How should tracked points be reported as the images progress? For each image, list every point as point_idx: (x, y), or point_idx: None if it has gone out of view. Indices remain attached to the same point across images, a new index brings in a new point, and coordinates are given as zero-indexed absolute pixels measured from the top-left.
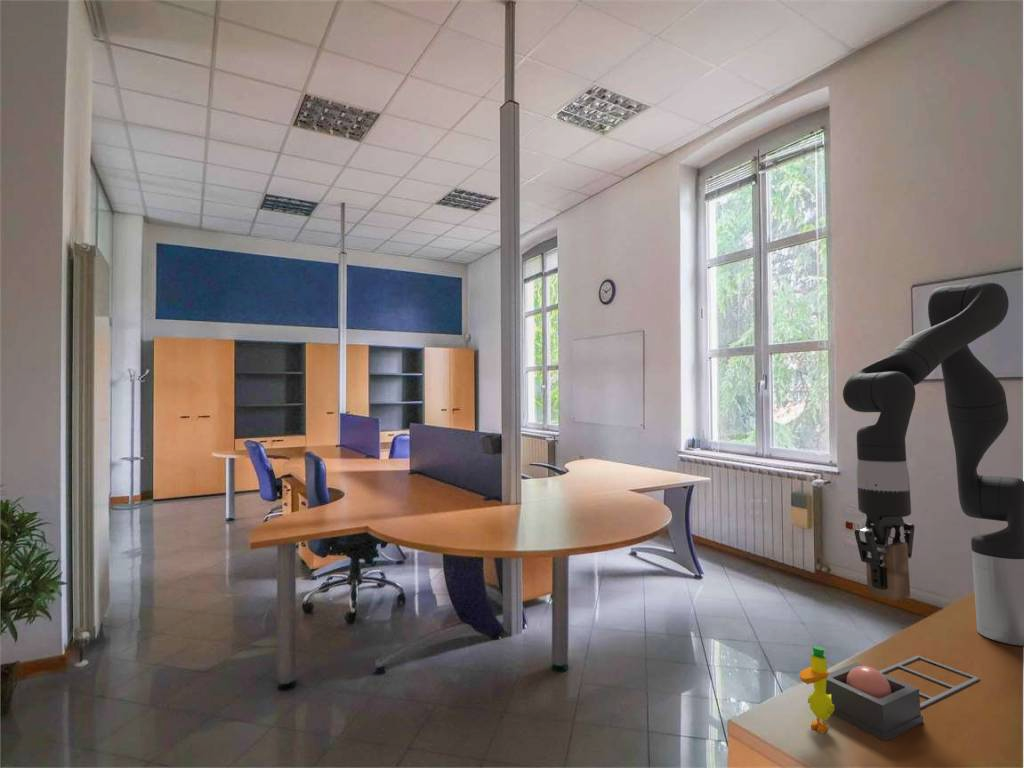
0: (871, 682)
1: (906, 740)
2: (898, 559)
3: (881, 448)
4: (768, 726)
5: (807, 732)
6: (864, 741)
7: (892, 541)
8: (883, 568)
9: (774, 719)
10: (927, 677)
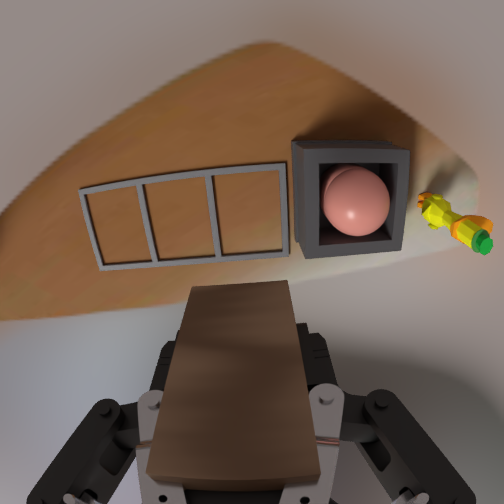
0: (384, 189)
1: (360, 127)
2: (254, 405)
3: None
4: None
5: None
6: None
7: (237, 499)
8: (318, 384)
9: (444, 237)
10: (148, 220)
